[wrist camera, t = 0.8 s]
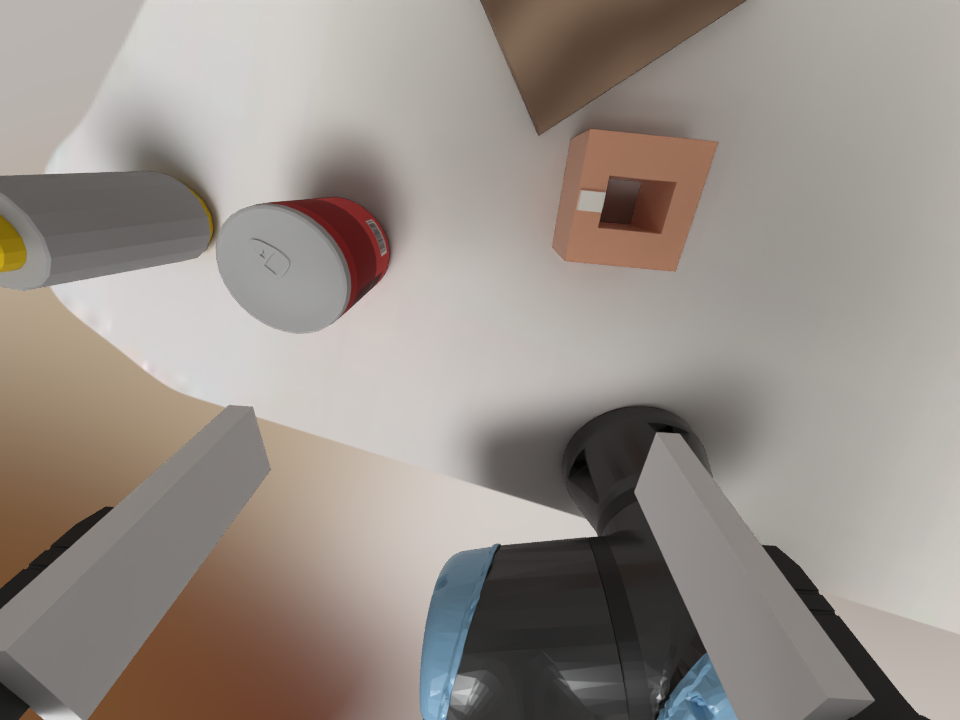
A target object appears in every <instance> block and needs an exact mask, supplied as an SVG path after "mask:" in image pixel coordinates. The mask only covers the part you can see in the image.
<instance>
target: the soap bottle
mask: <svg viewBox="0 0 960 720" xmlns="http://www.w3.org/2000/svg"><path fill="white" fill-rule="evenodd" d="M212 233H213V223H212V217H211V214H210V212H209V211H208V209H207V207H206V205H205V203H204V202H203V201H202V199H201V198H200V197H199V196H198V195H197V194H196V193H195V192H194V191H193V190H191V189H189V188H188V187H186V186H185V185H184V184H183V183H181V182H179V181H178V180H176V179H174V178H172V177H171V176H169V175H167V174H163V173H158V172H152V171H131V172H102V173H73V174H43V175H14V176H0V286H2V287H5V288H11V289H17V290H23V291H25V290H30V289H36V288H41V287H46V286H52V285H57V284H62V283H68V282H73V281H79V280H84V279H89V278H95V277H100V276H105V275H111V274H116V273H122V272H127V271H132V270H138V269H143V268H148V267H154V266H159V265H165V264H170V263H175V262H181V261H186V260H190V259H194V258H198V257H199V256H200V255H201V254H202V253H203V252H204V251H205V250H206V249H207V246H208V243H209V242H210V241H211V237H212Z"/></svg>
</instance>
